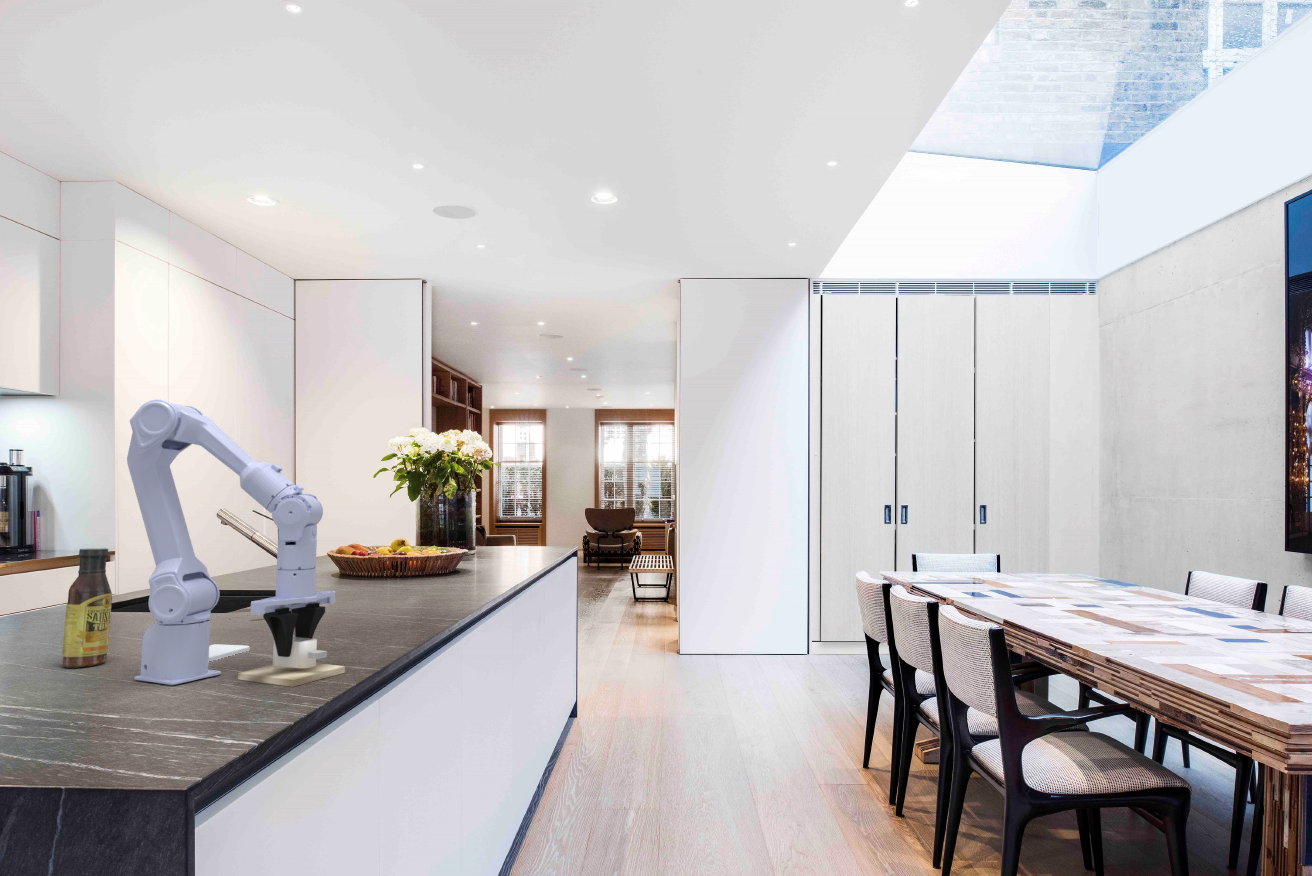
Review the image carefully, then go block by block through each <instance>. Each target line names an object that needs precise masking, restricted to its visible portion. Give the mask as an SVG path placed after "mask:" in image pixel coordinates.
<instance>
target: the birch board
mask: <svg viewBox="0 0 1312 876" xmlns="http://www.w3.org/2000/svg"><path fill="white" fill-rule="evenodd" d="M344 673H346V666H344V665H337V664H330V663H329V664H328V663H319V662H316V666H314V667H310V668H293V667H284V666H276V665H273V664H270V665H267V666H262V667H258V668H253V669H249V670H245V671H240V672H238V673H237V680H241V681H248V682H254V683H263V684H270V685H277V686H285V687H291V688H292V687H293V688H294V687H297V686H300V685H304V684H308V683H311V682H315V681H319V680H324V679H326V678H330V677H333V676H337V675H342V674H344Z"/></svg>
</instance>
